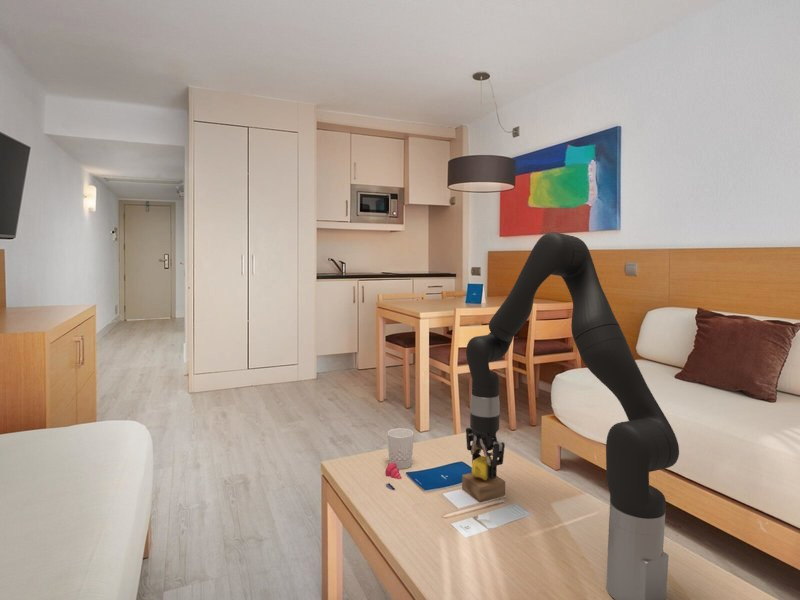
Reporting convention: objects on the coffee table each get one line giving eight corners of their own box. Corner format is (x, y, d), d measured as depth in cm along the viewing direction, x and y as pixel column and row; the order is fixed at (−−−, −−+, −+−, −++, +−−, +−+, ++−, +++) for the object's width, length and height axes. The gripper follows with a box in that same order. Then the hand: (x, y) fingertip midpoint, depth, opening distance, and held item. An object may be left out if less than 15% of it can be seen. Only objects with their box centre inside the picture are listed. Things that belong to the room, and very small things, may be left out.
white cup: (407, 457, 152) (407, 426, 151) (417, 467, 145) (417, 435, 144) (383, 461, 149) (384, 429, 148) (392, 471, 142) (392, 438, 141)
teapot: (486, 486, 122) (486, 466, 122) (467, 479, 126) (467, 460, 125) (502, 475, 128) (502, 456, 128) (483, 469, 132) (483, 450, 131)
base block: (504, 496, 126) (505, 481, 126) (479, 502, 122) (479, 487, 122) (486, 483, 133) (486, 469, 133) (462, 489, 130) (462, 474, 129)
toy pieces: (372, 486, 134) (372, 471, 133) (394, 471, 143) (394, 457, 143) (410, 498, 127) (410, 482, 127) (430, 481, 137) (430, 466, 136)
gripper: (514, 417, 121) (512, 481, 122) (480, 402, 134) (479, 460, 135) (490, 421, 118) (488, 488, 119) (457, 405, 131) (456, 465, 132)
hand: (483, 473), depth 127 cm, fingers closed on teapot, 6 cm apart
